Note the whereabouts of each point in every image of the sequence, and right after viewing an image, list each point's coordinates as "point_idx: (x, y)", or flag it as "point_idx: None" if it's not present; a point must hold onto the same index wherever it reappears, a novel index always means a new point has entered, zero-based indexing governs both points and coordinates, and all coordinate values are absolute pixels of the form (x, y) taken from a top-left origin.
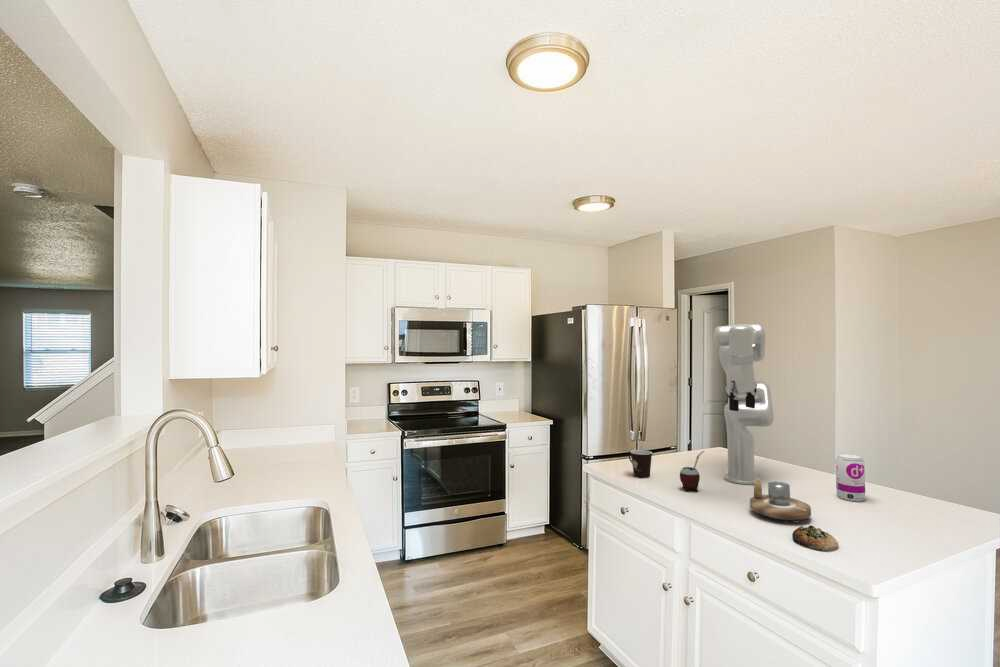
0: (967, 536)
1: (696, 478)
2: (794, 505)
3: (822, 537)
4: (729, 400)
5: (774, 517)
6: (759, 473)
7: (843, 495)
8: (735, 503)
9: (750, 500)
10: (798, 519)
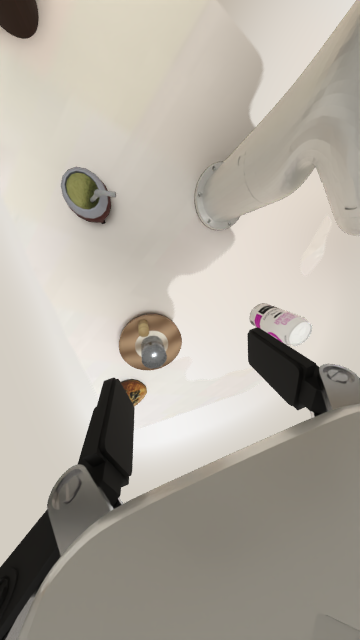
0: (237, 389)
1: (94, 221)
2: None
3: None
4: (88, 443)
5: None
6: None
7: (251, 317)
8: (129, 293)
9: (125, 330)
10: None
